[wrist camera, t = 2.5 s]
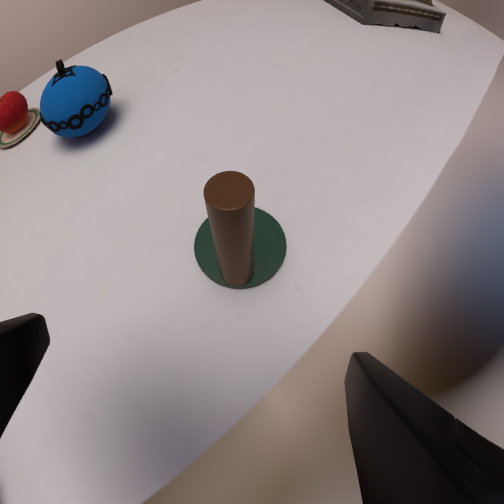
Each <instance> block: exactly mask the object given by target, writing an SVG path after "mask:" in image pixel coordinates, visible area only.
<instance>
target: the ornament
mask: <svg viewBox="0 0 504 504" xmlns="http://www.w3.org/2000/svg"><path fill="white" fill-rule="evenodd" d="M56 67H57V71H58V73H56V74H55V75H54V76H53V78H52V79H51V80H50V81H49V82H48V84H47V85H46V87H45V89H44V91H43V94H42V97H41V101H40V118H41V121H42V123H43V124H44V125H45V126H47V128H48V129H50V130H51V131H52V132H53V133H55V134H57V135H59V136H62V137H68V138H73V137H79V136H82V135H86V134H88V133H89V132H91V131H92V130H94V129H95V128H96V127H97V126H98V125H99V124H100V123H101V121H102V120H103V119H104V117H105V115H106V113H107V111H108V108H109V104H110V95H112V90H111V87H110V84H109V81H108V79H107V77H106V76H105V75H104V74H100V73H99V72H98V71H96V70H95V69H93V68H90V67H87V66H76V65H75V66H70V67H67V68H65V67H64V64H63V62H62V60H59V61H56Z"/></svg>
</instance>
